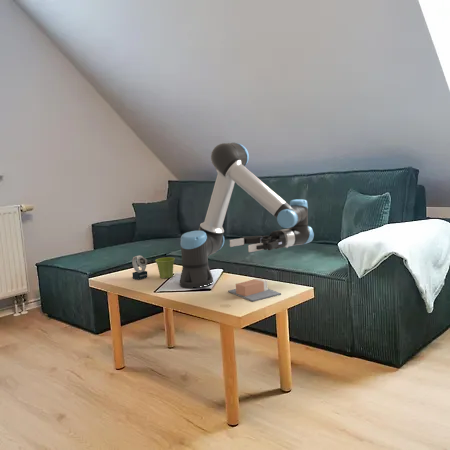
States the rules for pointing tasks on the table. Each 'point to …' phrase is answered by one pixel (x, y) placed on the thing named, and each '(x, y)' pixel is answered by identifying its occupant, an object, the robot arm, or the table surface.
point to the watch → (139, 273)
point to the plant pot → (165, 267)
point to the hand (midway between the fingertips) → (239, 246)
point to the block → (251, 287)
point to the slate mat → (257, 295)
